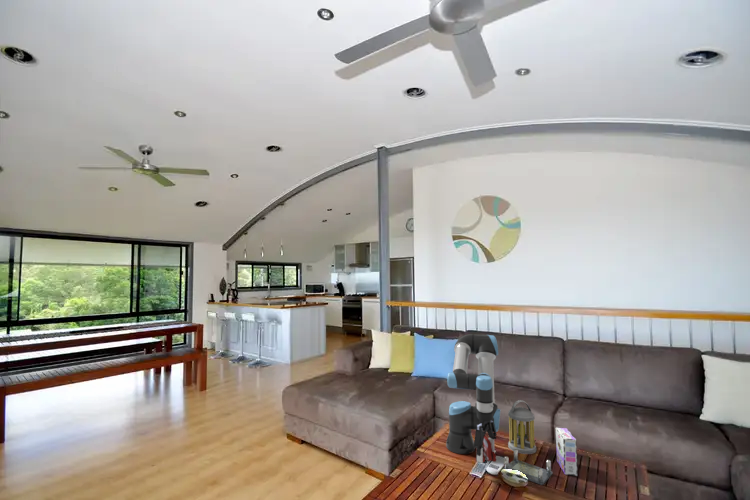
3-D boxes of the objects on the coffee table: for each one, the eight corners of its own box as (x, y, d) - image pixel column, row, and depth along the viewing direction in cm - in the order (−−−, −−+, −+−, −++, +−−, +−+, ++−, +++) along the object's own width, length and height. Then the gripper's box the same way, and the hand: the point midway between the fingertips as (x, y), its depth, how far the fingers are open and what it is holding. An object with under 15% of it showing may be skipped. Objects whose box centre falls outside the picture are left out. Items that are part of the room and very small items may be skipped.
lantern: (527, 441, 206) (525, 395, 208) (541, 453, 192) (540, 404, 194) (503, 442, 204) (502, 396, 206) (516, 455, 190) (515, 405, 192)
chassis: (503, 470, 175) (503, 457, 175) (514, 460, 184) (514, 448, 185) (542, 485, 163) (542, 471, 163) (552, 474, 172) (552, 460, 172)
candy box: (578, 476, 170) (576, 439, 171) (564, 475, 171) (563, 438, 172) (568, 461, 184) (567, 427, 185) (556, 460, 185) (554, 426, 186)
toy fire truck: (488, 451, 181) (488, 429, 181) (497, 465, 168) (497, 442, 169) (474, 451, 180) (474, 430, 181) (482, 465, 168) (482, 442, 168)
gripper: (480, 419, 164) (481, 470, 163) (503, 405, 181) (504, 450, 180) (465, 415, 169) (466, 463, 168) (489, 401, 186) (489, 445, 185)
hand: (485, 457), depth 174 cm, fingers closed on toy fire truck, 11 cm apart
